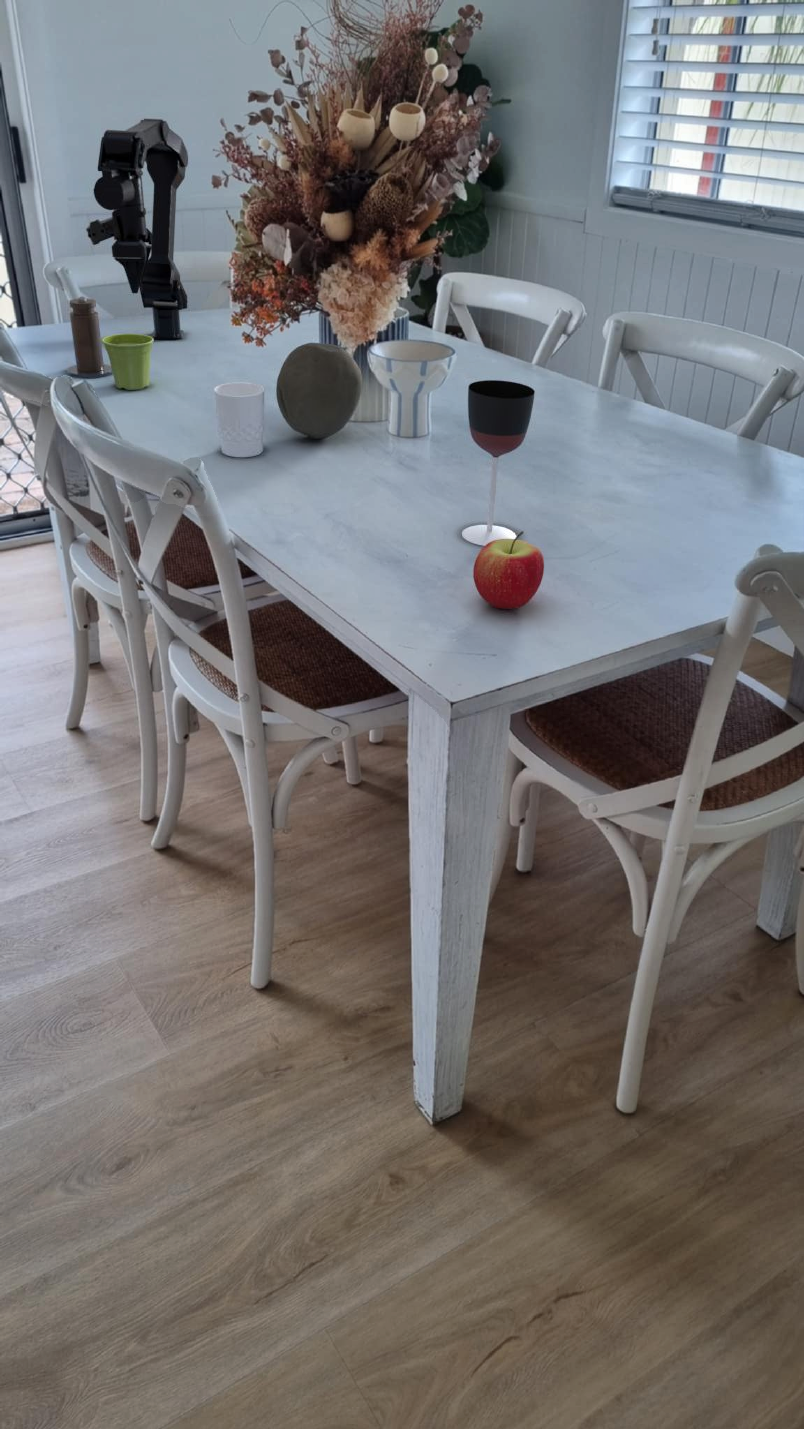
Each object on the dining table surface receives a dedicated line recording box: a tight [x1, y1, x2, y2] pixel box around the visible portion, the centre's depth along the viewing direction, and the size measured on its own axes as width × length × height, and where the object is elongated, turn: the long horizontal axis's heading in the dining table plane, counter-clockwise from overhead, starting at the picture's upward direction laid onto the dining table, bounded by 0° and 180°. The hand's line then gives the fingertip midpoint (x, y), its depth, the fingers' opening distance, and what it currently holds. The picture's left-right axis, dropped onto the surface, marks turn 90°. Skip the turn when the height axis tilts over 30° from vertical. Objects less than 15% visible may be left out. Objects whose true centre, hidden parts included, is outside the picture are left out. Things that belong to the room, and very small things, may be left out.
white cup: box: [213, 381, 265, 458], centre depth 170 cm, size 8×8×10 cm
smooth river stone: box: [275, 342, 363, 440], centre depth 176 cm, size 14×14×15 cm
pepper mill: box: [68, 296, 105, 372], centre depth 205 cm, size 5×5×14 cm
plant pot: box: [101, 333, 155, 391], centre depth 199 cm, size 9×9×9 cm
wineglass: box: [461, 379, 536, 547], centre depth 141 cm, size 8×9×20 cm
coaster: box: [66, 364, 113, 379], centre depth 209 cm, size 9×9×1 cm
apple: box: [472, 530, 545, 610], centre depth 126 cm, size 8×8×10 cm
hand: (137, 288), depth 215 cm, fingers open, 9 cm apart
